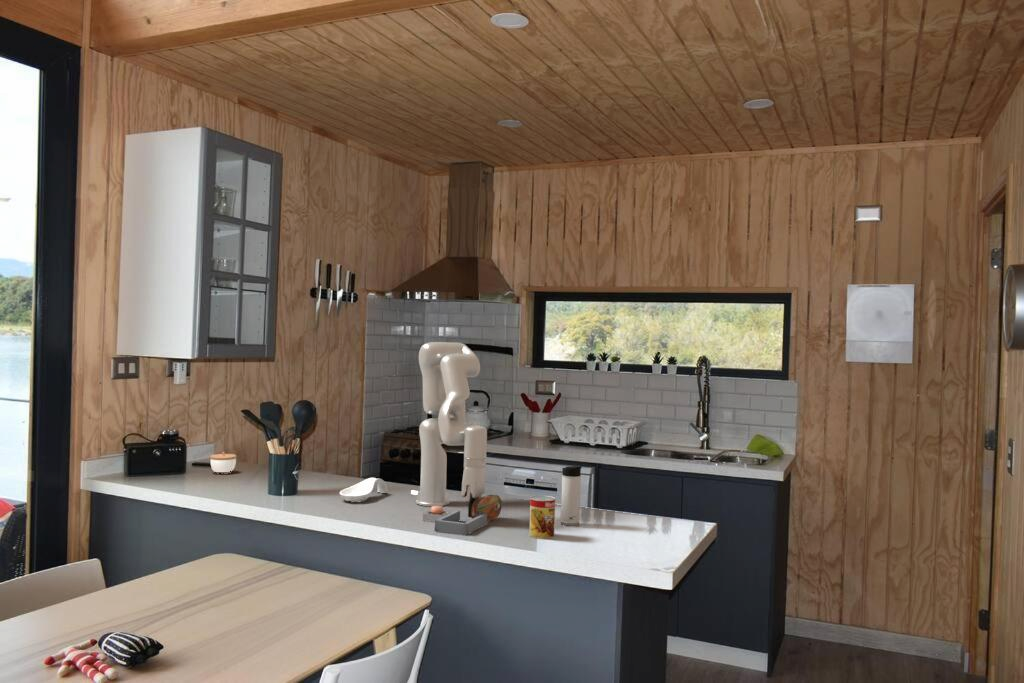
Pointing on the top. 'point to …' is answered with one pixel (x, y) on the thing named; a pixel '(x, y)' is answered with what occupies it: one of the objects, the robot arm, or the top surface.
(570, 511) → the travel mug
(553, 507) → the canned food
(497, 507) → the tin
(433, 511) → the button
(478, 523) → the bay
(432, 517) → the switch box
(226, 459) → the lidded jar
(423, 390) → the robot arm
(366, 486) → the spoon rest
